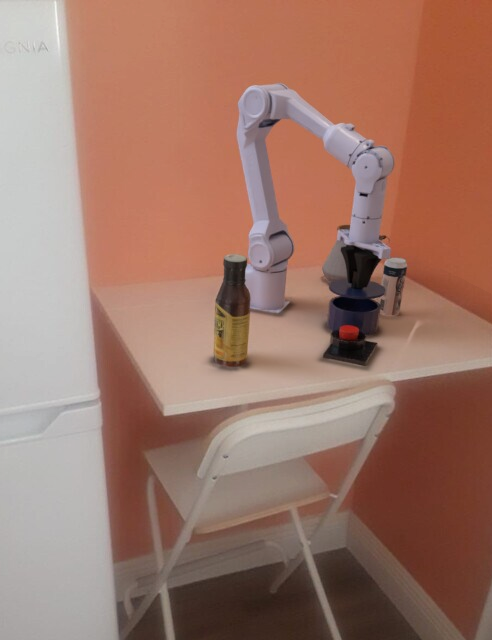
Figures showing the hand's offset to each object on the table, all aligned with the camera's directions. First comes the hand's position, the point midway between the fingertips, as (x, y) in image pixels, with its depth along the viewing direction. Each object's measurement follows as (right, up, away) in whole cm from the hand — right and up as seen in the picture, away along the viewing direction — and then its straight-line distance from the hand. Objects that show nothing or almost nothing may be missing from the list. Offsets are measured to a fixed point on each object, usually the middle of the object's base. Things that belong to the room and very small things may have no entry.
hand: (357, 284), depth 140 cm
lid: (0, -1, 0) cm, 1 cm away
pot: (0, -8, +5) cm, 9 cm away
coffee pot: (+5, +5, +27) cm, 28 cm away
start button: (-3, -11, -6) cm, 13 cm away
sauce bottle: (-26, -17, -11) cm, 33 cm away
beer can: (+9, -4, +13) cm, 16 cm away
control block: (-3, -15, -7) cm, 16 cm away
